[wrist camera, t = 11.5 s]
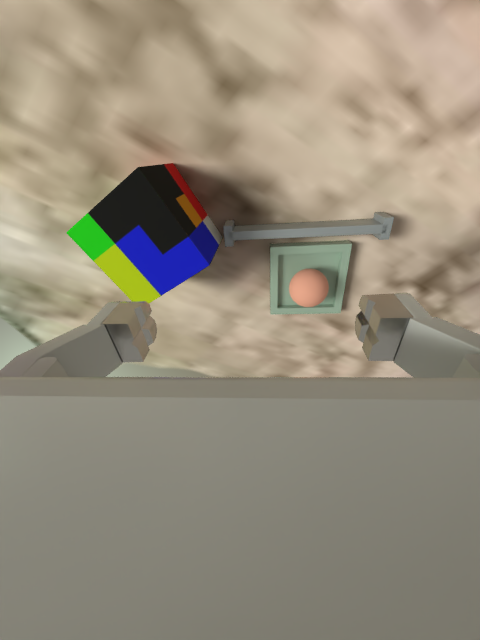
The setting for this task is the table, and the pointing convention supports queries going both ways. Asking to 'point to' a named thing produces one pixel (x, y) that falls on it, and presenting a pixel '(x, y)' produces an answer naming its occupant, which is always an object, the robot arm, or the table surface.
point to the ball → (308, 287)
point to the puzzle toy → (148, 233)
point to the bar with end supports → (310, 229)
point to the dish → (307, 255)
